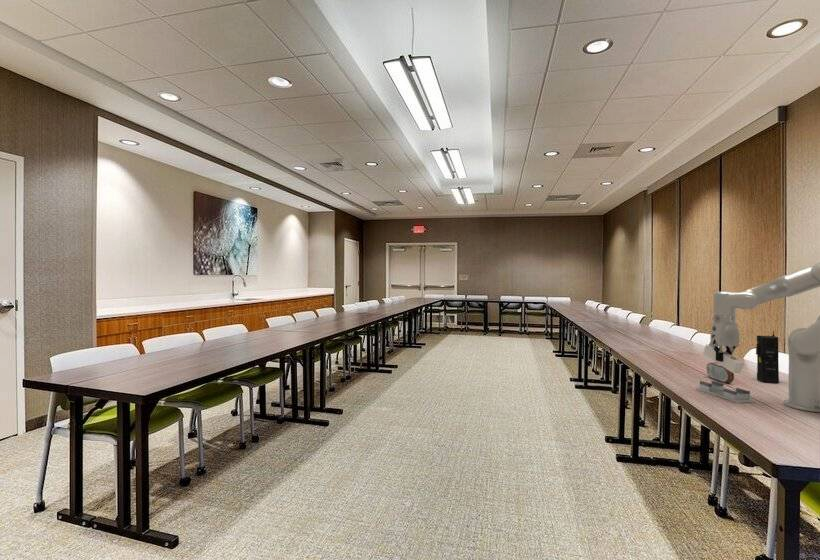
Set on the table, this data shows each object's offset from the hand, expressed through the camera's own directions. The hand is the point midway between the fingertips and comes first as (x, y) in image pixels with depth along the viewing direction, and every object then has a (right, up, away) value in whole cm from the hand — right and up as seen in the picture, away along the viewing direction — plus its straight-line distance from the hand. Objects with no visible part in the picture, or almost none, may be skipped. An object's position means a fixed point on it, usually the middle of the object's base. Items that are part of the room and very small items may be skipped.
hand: (723, 360), depth 172 cm
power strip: (0, -1, +1) cm, 2 cm away
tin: (+17, -15, +24) cm, 33 cm away
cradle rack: (0, -15, 0) cm, 15 cm away
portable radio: (+39, -15, +22) cm, 47 cm away
